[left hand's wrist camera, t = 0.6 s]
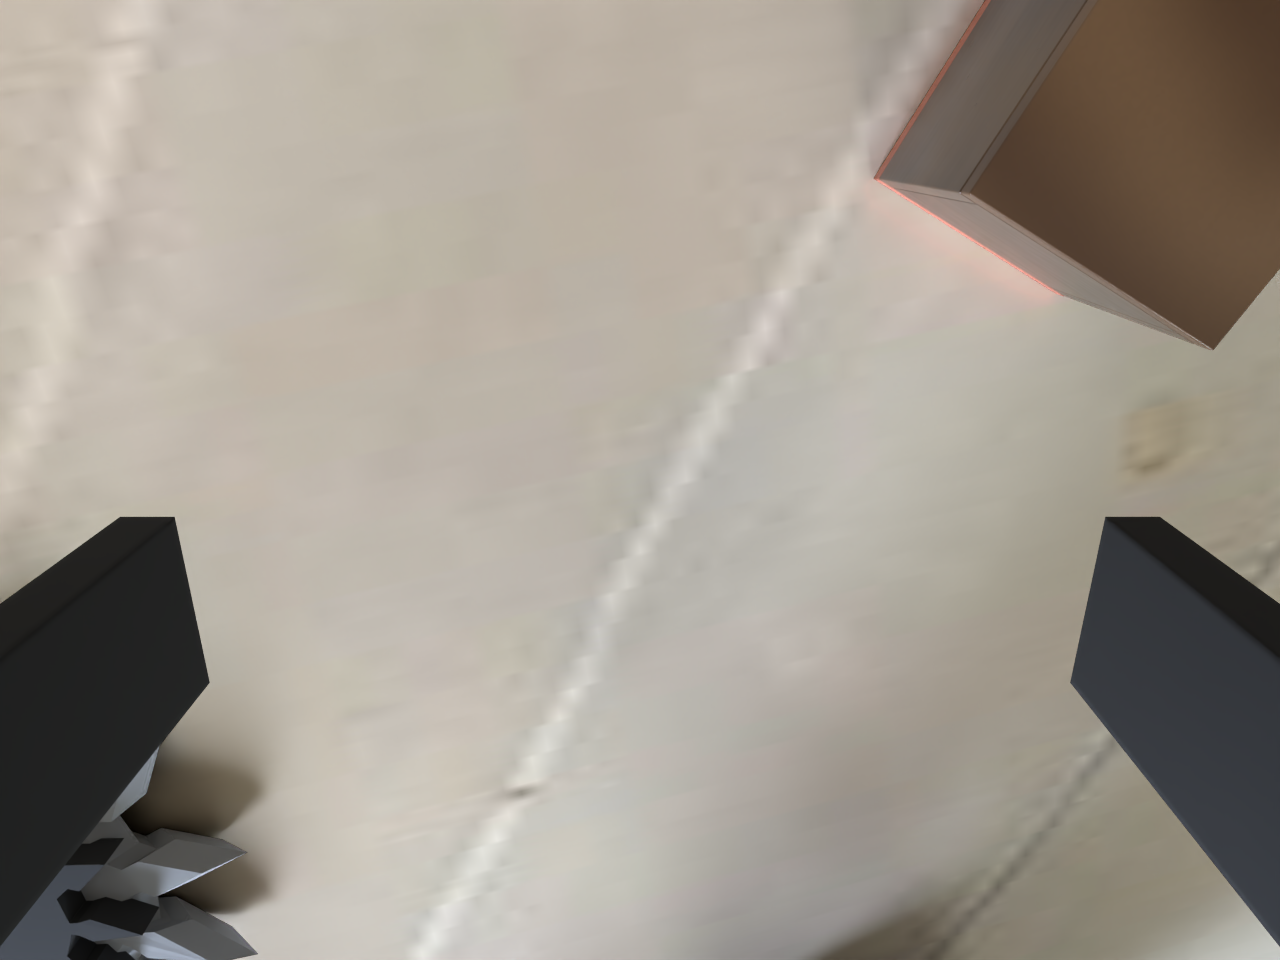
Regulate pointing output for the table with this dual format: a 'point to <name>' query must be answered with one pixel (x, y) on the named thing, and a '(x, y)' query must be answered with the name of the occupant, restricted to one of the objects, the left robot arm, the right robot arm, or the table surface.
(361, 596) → the table surface
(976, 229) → the chest
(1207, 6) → the lid
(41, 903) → the decorative piece
